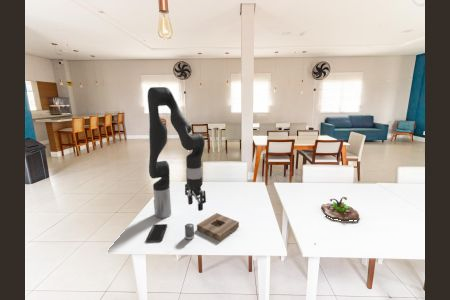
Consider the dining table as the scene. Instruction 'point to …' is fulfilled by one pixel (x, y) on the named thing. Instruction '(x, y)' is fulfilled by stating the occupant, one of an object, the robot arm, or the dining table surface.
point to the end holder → (215, 232)
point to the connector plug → (189, 231)
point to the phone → (157, 233)
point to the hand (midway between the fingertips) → (195, 207)
